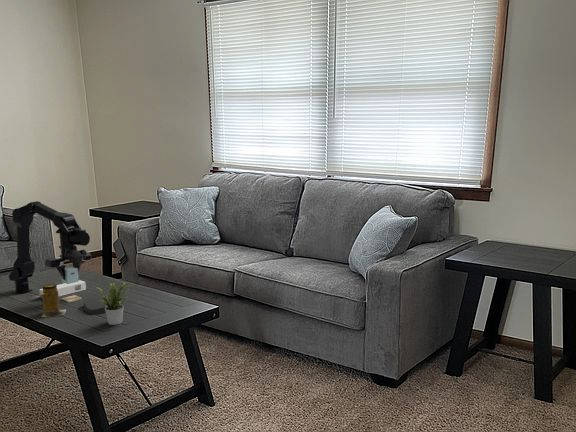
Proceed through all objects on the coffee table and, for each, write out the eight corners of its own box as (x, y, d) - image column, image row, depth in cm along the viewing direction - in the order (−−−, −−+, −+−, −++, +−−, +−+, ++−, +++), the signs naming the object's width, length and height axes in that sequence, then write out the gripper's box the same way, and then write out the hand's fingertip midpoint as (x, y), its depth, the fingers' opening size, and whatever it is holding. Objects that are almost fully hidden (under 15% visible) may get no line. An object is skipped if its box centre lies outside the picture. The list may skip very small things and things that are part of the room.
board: (61, 299, 240) (61, 298, 240) (74, 296, 244) (74, 295, 244) (69, 302, 236) (68, 301, 236) (81, 299, 241) (81, 297, 241)
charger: (59, 281, 240) (58, 267, 239) (70, 278, 244) (69, 265, 243) (68, 284, 235) (67, 270, 234) (78, 281, 239) (77, 268, 238)
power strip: (26, 300, 239) (26, 292, 239) (79, 286, 258) (78, 279, 258) (36, 304, 234) (35, 296, 233) (89, 290, 253) (88, 282, 253)
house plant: (144, 322, 212) (141, 281, 209) (111, 332, 202) (109, 290, 199) (124, 314, 222) (121, 275, 219) (92, 323, 211) (89, 282, 209)
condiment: (44, 311, 225) (42, 283, 223) (66, 309, 227) (64, 282, 225) (41, 317, 218) (38, 288, 216) (63, 315, 220) (61, 287, 218)
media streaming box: (89, 316, 220) (88, 309, 220) (82, 305, 233) (81, 299, 232) (125, 309, 228) (125, 302, 227) (117, 300, 240) (116, 293, 240)
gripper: (56, 250, 224) (59, 286, 227) (97, 242, 238) (99, 276, 241) (42, 246, 231) (45, 282, 233) (83, 239, 245) (85, 272, 248)
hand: (70, 278), depth 239 cm, fingers closed on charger, 5 cm apart
